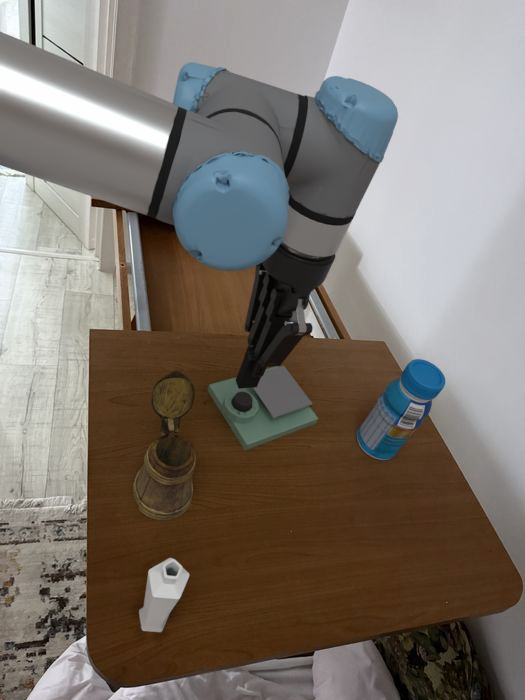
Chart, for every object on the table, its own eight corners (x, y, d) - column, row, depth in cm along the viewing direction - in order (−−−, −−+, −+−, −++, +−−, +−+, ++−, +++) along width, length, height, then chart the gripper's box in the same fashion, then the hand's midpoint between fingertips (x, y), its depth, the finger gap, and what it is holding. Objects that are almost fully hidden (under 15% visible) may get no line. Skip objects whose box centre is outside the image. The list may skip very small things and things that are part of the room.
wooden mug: (185, 442, 84) (207, 369, 72) (195, 518, 75) (222, 450, 63) (130, 442, 81) (143, 367, 69) (133, 522, 72) (149, 451, 60)
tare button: (238, 414, 87) (240, 407, 86) (229, 400, 89) (231, 394, 87) (253, 409, 89) (256, 402, 88) (244, 395, 90) (246, 389, 89)
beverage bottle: (346, 439, 94) (394, 367, 81) (368, 417, 100) (417, 347, 86) (382, 470, 91) (438, 401, 78) (403, 446, 97) (459, 378, 84)
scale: (242, 451, 86) (247, 439, 83) (204, 391, 93) (208, 378, 90) (315, 424, 95) (322, 412, 92) (276, 371, 102) (281, 359, 99)
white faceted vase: (173, 598, 66) (195, 549, 56) (169, 635, 63) (192, 590, 53) (138, 595, 65) (153, 545, 55) (132, 632, 62) (148, 586, 52)
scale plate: (272, 419, 88) (273, 417, 87) (244, 378, 93) (245, 376, 93) (311, 406, 93) (313, 404, 92) (282, 367, 98) (283, 365, 97)
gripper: (360, 280, 51) (286, 419, 67) (312, 209, 59) (256, 348, 75) (295, 277, 48) (233, 425, 64) (253, 203, 56) (208, 350, 72)
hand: (246, 383), depth 69 cm, fingers closed
